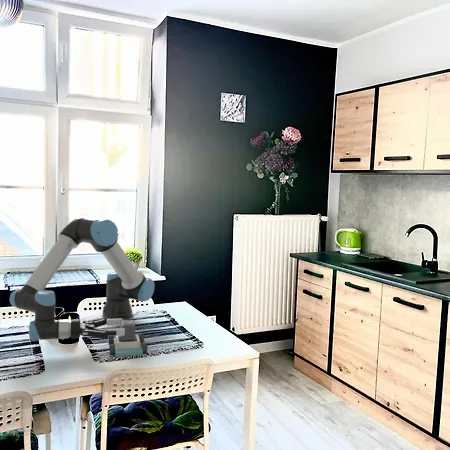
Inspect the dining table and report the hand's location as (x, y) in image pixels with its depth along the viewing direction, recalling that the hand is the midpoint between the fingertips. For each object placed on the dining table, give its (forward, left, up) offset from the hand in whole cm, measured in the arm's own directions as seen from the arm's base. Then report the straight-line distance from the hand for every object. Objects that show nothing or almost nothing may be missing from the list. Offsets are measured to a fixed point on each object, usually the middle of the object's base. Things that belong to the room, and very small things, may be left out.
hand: (123, 326), depth 199 cm
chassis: (+1, +1, -9) cm, 10 cm away
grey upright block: (+1, +1, -8) cm, 8 cm away
